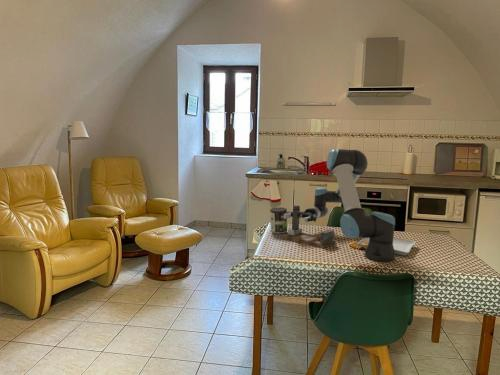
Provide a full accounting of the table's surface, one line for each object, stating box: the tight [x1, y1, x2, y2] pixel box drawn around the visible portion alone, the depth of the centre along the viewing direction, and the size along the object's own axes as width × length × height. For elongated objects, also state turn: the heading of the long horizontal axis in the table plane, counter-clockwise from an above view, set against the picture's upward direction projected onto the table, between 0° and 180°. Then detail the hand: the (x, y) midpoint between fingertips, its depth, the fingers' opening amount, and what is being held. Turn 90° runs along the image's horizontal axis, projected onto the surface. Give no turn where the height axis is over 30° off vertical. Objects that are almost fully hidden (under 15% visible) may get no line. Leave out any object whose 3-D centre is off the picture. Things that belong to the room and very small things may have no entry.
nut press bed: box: [281, 228, 337, 249], centre depth 228 cm, size 28×14×8 cm, turn 52°
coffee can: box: [269, 207, 288, 234], centre depth 245 cm, size 10×10×14 cm
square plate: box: [356, 236, 417, 256], centre depth 222 cm, size 27×27×4 cm
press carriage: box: [287, 205, 303, 236], centre depth 233 cm, size 4×9×17 cm, turn 142°
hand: (294, 218), depth 231 cm, fingers open, 13 cm apart
